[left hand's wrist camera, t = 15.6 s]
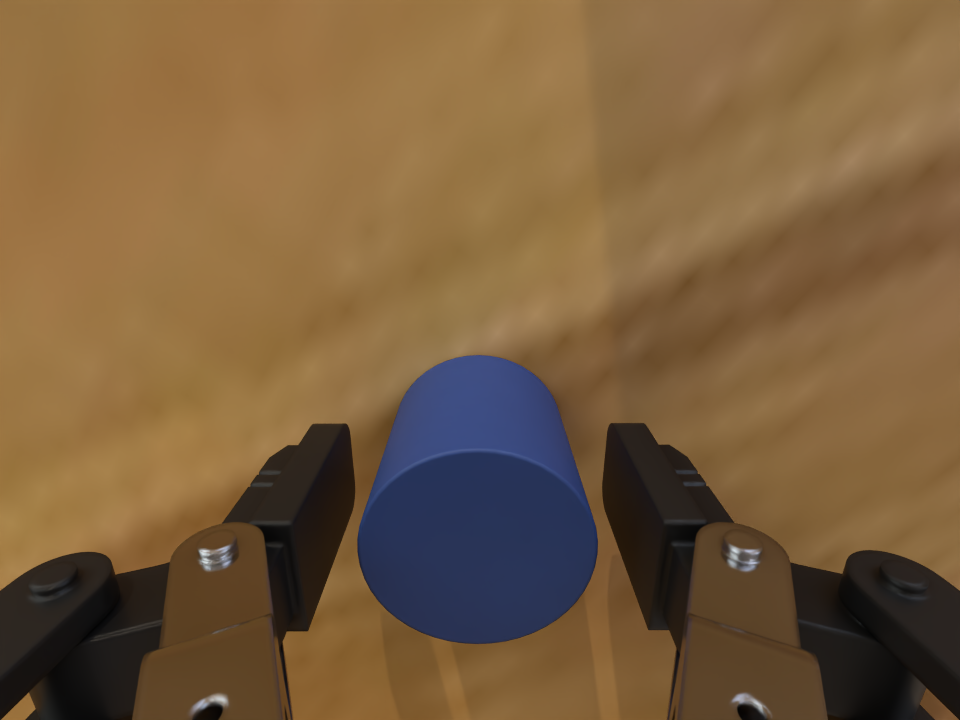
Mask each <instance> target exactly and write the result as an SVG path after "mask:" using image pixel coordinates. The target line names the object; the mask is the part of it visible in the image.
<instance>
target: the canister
mask: <svg viewBox="0 0 960 720" xmlns="http://www.w3.org/2000/svg"><path fill="white" fill-rule="evenodd" d="M597 551H598V539H597V532H596V526H595V523H594V520H593V516H592V513H591V510H590V507H589V504H588V501H587V498H586V495H585V492H584V488H583V485H582V482H581V479H580V476H579V473H578V470H577V467H576V464H575V460H574V457H573V454H572V451H571V448H570V445H569V442H568V439H567V436H566V432H565V429H564V426H563V423H562V420H561V417H560V414H559V411H558V408H557V405H556V403H555V400H554V398H553V396H552V395H551V393H550V392H549V390H548V389H547V387H546V386H545V385H544V384H543V383H542V382H541V380H540V379H538V378H537V377H536V376H535V375H534V374H533V373H531V372H530V371H528V370H527V369H525V368H524V367H522V366H520V365H518V364H516V363H514V362H511V361H508V360H505V359H502V358H497V357H492V356H481V355H476V356H464V357H459V358H455V359H451V360H448V361H445V362H443V363H441V364H439V365H436V366H434V367H433V368H431V369H430V370H428V371H426V372H425V373H424V374H423V375H422V376H420V377H419V378H418V379H417V380H416V381H415V382H414V383H413V384H412V385H411V387H410V388H409V390H408V391H407V392H406V394H405V396H404V398H403V400H402V402H401V404H400V406H399V409H398V412H397V415H396V418H395V421H394V424H393V427H392V430H391V433H390V436H389V439H388V442H387V445H386V448H385V451H384V454H383V457H382V460H381V463H380V466H379V469H378V472H377V475H376V478H375V481H374V484H373V487H372V490H371V493H370V496H369V499H368V502H367V505H366V508H365V511H364V514H363V517H362V520H361V523H360V526H359V533H358V557H359V563H360V567H361V570H362V573H363V576H364V579H365V581H366V582H367V584H368V586H369V588H370V590H371V592H372V593H373V594H374V596H375V597H376V599H377V600H378V601H379V602H380V603H381V604H382V605H383V606H384V608H385V609H386V610H387V611H389V612H390V613H391V614H392V615H393V616H395V617H396V618H397V619H398V620H400V621H402V622H403V623H405V624H406V625H408V626H409V627H411V628H413V629H415V630H417V631H419V632H421V633H424V634H427V635H429V636H432V637H435V638H439V639H443V640H447V641H452V642H458V643H469V644H486V643H497V642H504V641H509V640H513V639H517V638H520V637H523V636H526V635H529V634H532V633H534V632H536V631H538V630H540V629H542V628H544V627H546V626H548V625H549V624H551V623H552V622H554V621H556V620H557V619H558V618H560V617H561V616H562V615H563V614H564V613H566V612H567V611H568V610H569V609H570V608H571V607H572V606H573V605H574V604H575V603H576V602H577V600H578V599H579V598H580V596H581V595H582V593H583V592H584V591H585V589H586V587H587V585H588V583H589V581H590V579H591V576H592V573H593V571H594V568H595V564H596V558H597Z"/></svg>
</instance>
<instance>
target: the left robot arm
mask: <svg viewBox="0 0 960 720" xmlns="http://www.w3.org/2000/svg"><path fill="white" fill-rule="evenodd" d="M697 472H698V471H697V470H696V468H695V467H694V466H693V464H692V463H691V461H690V460H689V459H688V457H687V456H685V455H684V454H682V453H681V452H679V451H678V450H676V449H675V448H673V447H672V446H670V445H658V443H657V442H656V440H655V438H654V437H653V435H652V434H651V432H650V431H649V429H648V428H647V426H646V425H645V424H644V423H611V424H610V425H609V427H608V431H607V440H606V451H605V461H604V472H603V483H602V494H603V503H604V508H605V512H606V515H607V518H608V520H609V523H610V526H611V529H612V531H613V534H614V537H615V540H616V542H617V545H618V548H619V551H620V553H621V556H622V559H623V562H624V564H625V567H626V570H627V573H628V575H629V578H630V581H631V584H632V586H633V589H634V592H635V595H636V597H637V600H638V603H639V606H640V608H641V611H642V614H643V617H644V619H645V622H646V625H647V628H648V630H669V631H670V633H671V635H672V638H673V640H674V643H675V645H676V653H675V659H674V667H673V674H672V682H671V690H670V697H669V705H668V712H667V720H934V719H933V718H932V717H931V716H930V715H929V713H928V712H927V711H926V710H925V709H924V708H923V707H922V706H921V705H920V702H921V700H922V697H923V695H924V692H925V690H926V688H927V689H928V690H929V691H930V692H931V693H933V694H934V695H935V696H936V697H937V698H938V699H939V700H940V701H941V702H942V703H943V704H944V705H945V706H946V707H947V708H948V709H949V710H950V711H951V712H952V713H953V714H954V715H955V716H956V717H957V718H958V719H959V720H960V591H959V590H958V589H957V588H955V587H954V586H953V585H951V584H950V583H949V582H947V581H946V580H945V579H943V578H942V577H941V576H939V575H938V574H936V573H935V572H933V571H932V570H930V569H928V568H926V567H925V566H923V565H921V564H919V563H917V562H915V561H912V560H910V559H907V558H905V557H902V556H899V555H895V554H891V553H888V552H882V551H873V550H865V551H859V552H855V553H853V554H851V555H850V556H849V557H848V559H847V561H846V564H845V567H844V571H843V574H840V573H835V572H830V571H826V570H821V569H816V568H812V567H807V566H803V565H798V564H794V563H790V560H789V557H788V555H787V553H786V551H785V550H784V549H783V548H782V546H780V545H779V544H778V543H777V542H776V541H775V540H774V539H772V538H771V537H769V536H768V535H766V534H764V533H762V532H760V531H758V530H756V529H754V528H751V527H748V526H745V525H741V524H736V523H734V522H733V520H732V519H731V518H730V516H729V515H728V513H727V512H726V511H725V509H724V508H723V506H722V505H721V504H720V502H719V501H718V499H717V498H716V497H715V495H714V494H713V492H712V491H711V490H710V488H709V487H708V486H706V483H705V481H704V480H703V478H702V477H701V475H700V474H698V473H697ZM354 500H355V479H354V468H353V458H352V448H351V438H350V431H349V427H348V425H347V424H312V425H311V427H310V428H309V430H308V431H307V433H306V434H305V436H304V437H303V439H302V440H301V442H300V443H299V445H288V446H286V447H285V448H283V449H282V450H280V451H279V452H277V453H276V454H274V455H273V456H271V457H270V458H269V459H268V460H267V462H266V463H265V465H264V466H263V467H262V469H261V470H260V472H259V475H257V476H256V477H255V478H254V480H253V481H252V483H251V486H250V487H248V488H247V490H246V491H245V492H244V494H243V495H242V496H241V498H240V499H239V501H238V502H237V503H236V505H235V506H234V508H233V509H232V510H231V512H230V513H229V514H228V516H227V517H226V519H225V520H224V521H223V523H222V524H219V525H215V526H212V527H209V528H206V529H204V530H202V531H200V532H198V533H196V534H194V535H192V536H191V537H189V538H188V539H186V540H185V541H184V542H183V543H182V544H181V545H179V546H178V548H177V549H176V550H175V551H174V553H173V555H172V557H171V560H170V562H169V563H166V564H162V565H158V566H154V567H149V568H145V569H140V570H135V571H131V572H126V573H121V574H117V575H115V572H114V569H113V566H112V562H111V560H110V559H109V558H108V557H107V556H106V555H103V554H101V553H96V552H80V553H74V554H69V555H65V556H61V557H58V558H55V559H52V560H50V561H47V562H45V563H43V564H41V565H38V566H36V567H34V568H33V569H31V570H29V571H27V572H26V573H24V574H23V575H21V576H20V577H18V578H17V579H15V580H14V581H13V582H11V583H10V584H9V585H7V586H6V587H5V588H3V589H2V590H1V591H0V720H1V719H2V718H3V717H4V716H5V715H6V714H7V713H8V712H9V711H10V710H11V709H12V708H13V707H14V706H15V705H16V704H17V703H18V702H19V701H20V700H21V699H22V698H23V697H24V696H25V695H26V694H27V693H28V692H29V694H30V696H31V698H32V701H33V703H34V705H35V708H36V709H35V710H34V711H33V712H32V713H31V714H30V716H29V717H28V718H27V719H26V720H293V712H292V705H291V697H290V690H289V682H288V674H287V667H286V659H285V653H284V648H283V639H284V637H285V634H286V632H287V631H308V630H309V627H310V624H311V622H312V619H313V616H314V614H315V611H316V608H317V605H318V603H319V600H320V597H321V595H322V592H323V589H324V587H325V584H326V581H327V578H328V576H329V573H330V570H331V568H332V565H333V562H334V560H335V557H336V554H337V551H338V549H339V546H340V543H341V541H342V538H343V535H344V533H345V530H346V527H347V524H348V522H349V519H350V516H351V514H352V511H353V506H354Z"/></svg>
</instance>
